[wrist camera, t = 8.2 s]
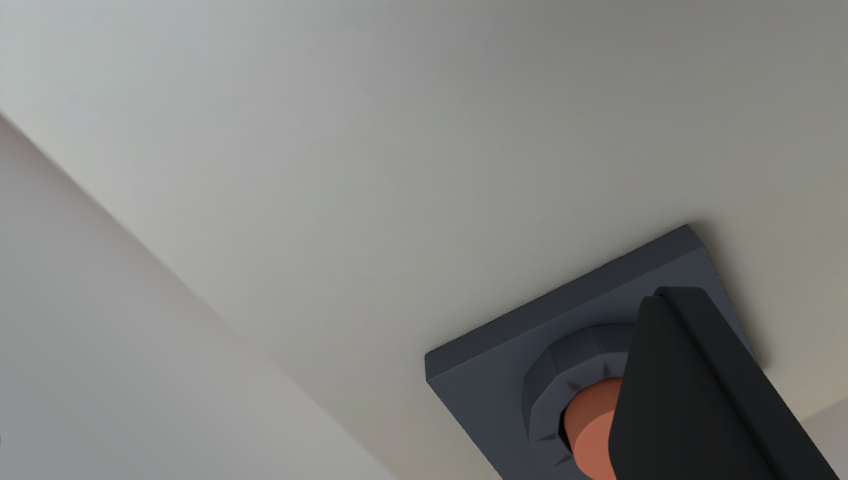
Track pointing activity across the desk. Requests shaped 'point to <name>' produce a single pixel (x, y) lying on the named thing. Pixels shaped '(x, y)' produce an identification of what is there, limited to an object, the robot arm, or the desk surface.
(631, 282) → the button box
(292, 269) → the desk surface
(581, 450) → the button
